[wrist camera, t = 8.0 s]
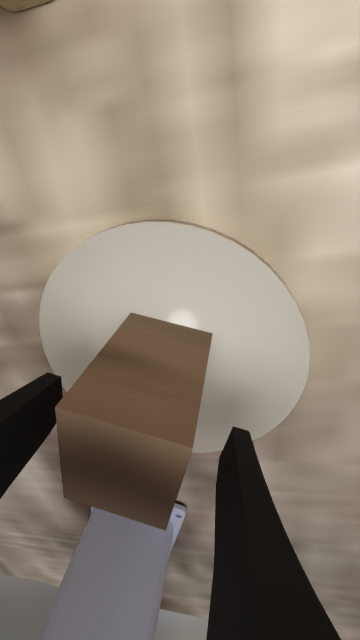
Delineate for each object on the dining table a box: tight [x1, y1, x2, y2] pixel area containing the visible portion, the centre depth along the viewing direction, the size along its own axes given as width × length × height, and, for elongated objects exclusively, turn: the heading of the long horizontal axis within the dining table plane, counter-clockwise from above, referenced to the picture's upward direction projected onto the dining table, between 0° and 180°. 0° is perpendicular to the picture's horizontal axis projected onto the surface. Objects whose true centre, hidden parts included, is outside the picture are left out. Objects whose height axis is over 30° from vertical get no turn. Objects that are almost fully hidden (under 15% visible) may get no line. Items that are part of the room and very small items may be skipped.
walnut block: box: [55, 313, 213, 531], centre depth 11 cm, size 5×4×6 cm
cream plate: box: [39, 220, 310, 453], centre depth 14 cm, size 14×14×1 cm
